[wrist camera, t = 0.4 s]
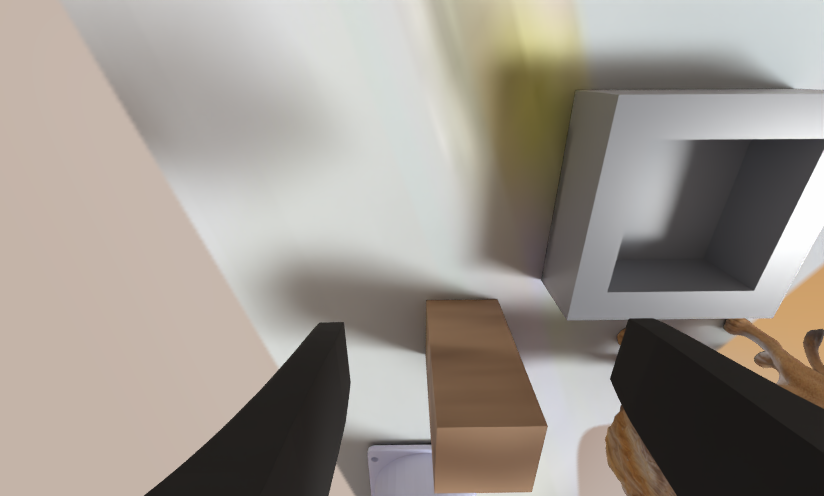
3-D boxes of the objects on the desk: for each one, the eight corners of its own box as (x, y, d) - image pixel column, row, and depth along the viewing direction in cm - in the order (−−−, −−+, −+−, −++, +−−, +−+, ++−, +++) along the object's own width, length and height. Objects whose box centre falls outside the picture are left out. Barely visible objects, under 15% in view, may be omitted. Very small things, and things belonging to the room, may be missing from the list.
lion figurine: (563, 399, 24) (644, 568, 16) (557, 338, 21) (648, 499, 13) (802, 355, 22) (1027, 516, 14) (823, 284, 20) (1107, 429, 12)
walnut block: (491, 353, 22) (531, 492, 15) (425, 354, 22) (434, 493, 15) (497, 299, 20) (547, 426, 13) (426, 300, 20) (437, 427, 13)
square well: (714, 278, 20) (772, 318, 16) (541, 280, 19) (566, 320, 16) (795, 88, 15) (895, 93, 12) (575, 90, 15) (619, 94, 12)
